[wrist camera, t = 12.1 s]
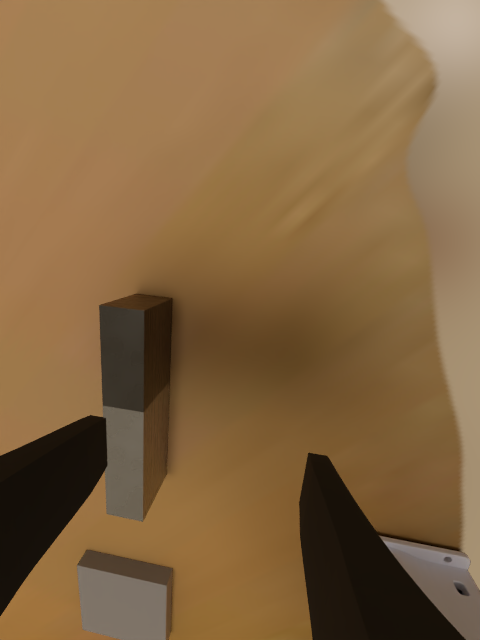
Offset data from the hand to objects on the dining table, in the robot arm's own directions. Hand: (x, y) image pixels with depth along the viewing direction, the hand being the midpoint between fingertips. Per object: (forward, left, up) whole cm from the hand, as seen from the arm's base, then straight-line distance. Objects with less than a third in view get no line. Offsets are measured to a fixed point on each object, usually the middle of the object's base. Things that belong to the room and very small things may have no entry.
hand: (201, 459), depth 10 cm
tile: (+8, +20, -9) cm, 23 cm away
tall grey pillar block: (+6, +3, -9) cm, 12 cm away
